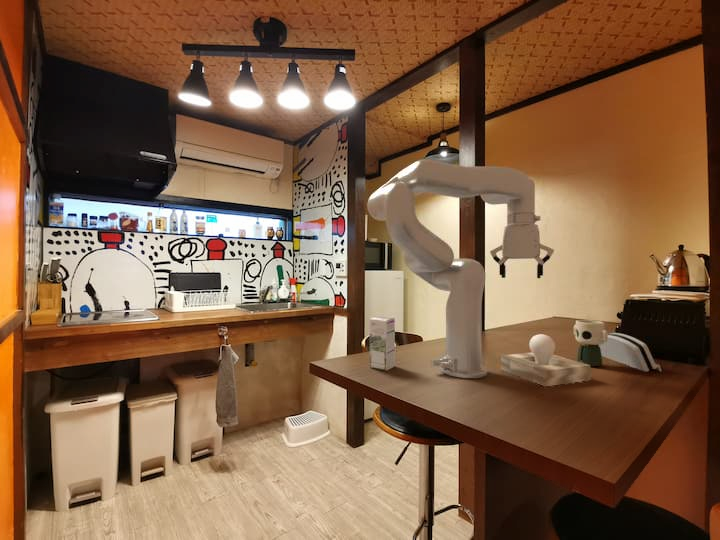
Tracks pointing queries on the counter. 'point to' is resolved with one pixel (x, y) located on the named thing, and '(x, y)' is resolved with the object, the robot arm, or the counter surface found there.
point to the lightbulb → (542, 348)
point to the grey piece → (628, 352)
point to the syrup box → (382, 343)
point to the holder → (545, 369)
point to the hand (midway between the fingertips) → (520, 278)
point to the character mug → (590, 341)
